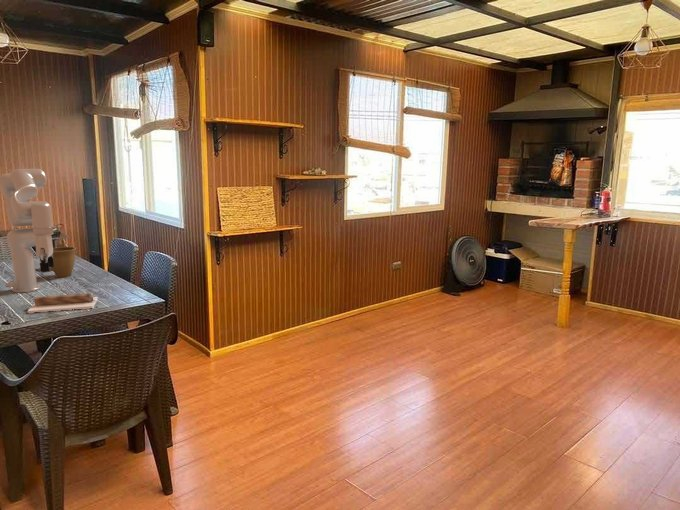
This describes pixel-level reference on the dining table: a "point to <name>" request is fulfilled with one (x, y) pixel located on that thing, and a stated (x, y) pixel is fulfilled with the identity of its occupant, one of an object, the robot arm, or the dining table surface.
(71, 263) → the plant pot
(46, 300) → the bar
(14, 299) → the dining table surface
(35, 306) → the label plate
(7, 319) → the dining table surface
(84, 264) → the dining table surface
